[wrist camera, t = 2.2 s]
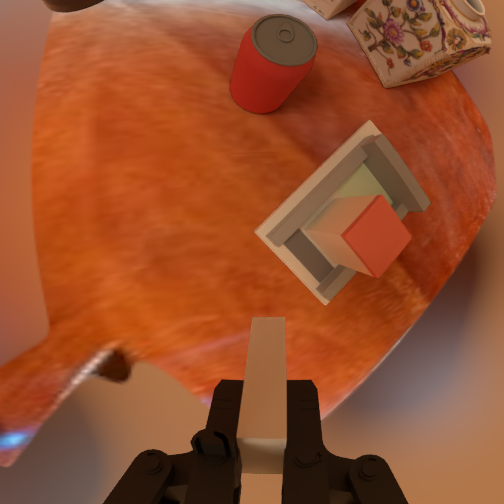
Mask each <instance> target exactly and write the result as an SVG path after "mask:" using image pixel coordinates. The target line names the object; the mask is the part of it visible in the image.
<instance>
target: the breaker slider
mask: <svg viewBox="0 0 504 504" xmlns="http://www.w3.org/2000/svg"><path fill="white" fill-rule="evenodd" d="M304 230H305V232H306V233H307V234H308V235H309V236H310V237H311V238H312V239H313V241H314V242H315V243H316V244H317V245H318V246H319V247H320V248H321V250H322V251H323V252H324V253H325V254H326V255H327V256H328V258H329V259H330V260H331V261H332V262H335V263H337V264H340V265H343V266H345V267H348V268H351V269H353V270H356V271H359V272H361V273H364V274H367V275H369V276H372V277H374V278H377V279H379V278H380V277H381V275H382V274H383V273H384V272H385V271H386V270H387V268H388V267H389V266H390V265H391V264H392V262H393V261H394V260H395V259H396V258H397V256H398V255H399V254H400V253H401V251H402V250H403V249H404V248H405V247H406V245H407V244H408V243H409V242H410V240H411V239H412V236H411V235H410V233H409V232H408V230H407V229H406V227H405V226H404V224H403V223H402V222H401V220H400V219H399V217H398V216H397V214H396V213H395V211H394V210H393V209H392V207H391V206H390V204H389V203H388V202H387V200H386V199H385V198H384V196H383V195H370V196H357V197H345V198H334V199H333V200H332V201H331V202H330V203H329V204H328V205H327V206H326V207H325V208H324V209H323V210H322V211H321V212H320V213H319V214H318V215H317V216H316V217H315V218H314V220H313V221H312V222H311V223H310V224H309V225H308V226H307V227H306V228H305V229H304Z"/></svg>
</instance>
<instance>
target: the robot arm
mask: <svg viewBox="0 0 504 504" xmlns="http://www.w3.org/2000/svg"><path fill="white" fill-rule="evenodd" d="M100 1H102V0H43V2H44V3H45V5H46V6H47V7H48V8H49V9H51V10H53V11H56V12H70V11H75V10H79V9H83V8H86V7H89V6H91V5H94V4H96V3H98V2H100ZM191 445H192V447H193V450H192V451H190V452H188V453H183V454H176V455H167V454H166V453H164V452H162V451H160V450H155V449H152V450H146V451H144V452H141V453H140V454H139V455H138V456H137V457H136V458H135V459H134V461H133V462H132V463H131V465H130V466H129V468H128V469H127V471H126V472H125V474H124V475H123V476H122V478H121V479H120V480H119V482H118V483H117V485H116V486H115V487H114V489H113V490H112V492H111V493H110V494H109V496H108V497H107V499H106V500H105V501H104V503H103V504H239V503H240V495H241V473H253V474H283V484H282V504H408V502H407V500H406V498H405V497H404V494H403V492H402V490H401V488H400V487H399V485H398V483H397V481H396V479H395V477H394V475H393V473H392V472H391V469H390V468H389V465H388V464H387V463H386V461H385V460H384V459H382V458H381V457H379V456H377V455H363V456H361V457H359V458H357V459H355V460H354V459H348V458H342V457H339V456H335V455H334V454H332V453H330V452H329V451H328V450H327V449H326V448H325V446H324V444H323V441H322V430H321V420H320V410H319V402H318V391H317V388H316V386H315V385H314V383H313V382H312V380H286V328H285V317H252V325H251V333H250V340H249V348H248V355H247V363H246V370H245V378H244V380H223V379H222V380H221V381H220V382H219V384H218V385H217V386H216V387H215V389H214V394H213V398H212V403H211V408H210V411H209V416H208V421H207V425H206V429H203V430H201V431H199V432H198V433H196V434H195V435H194V436H193V438H192V440H191Z"/></svg>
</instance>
